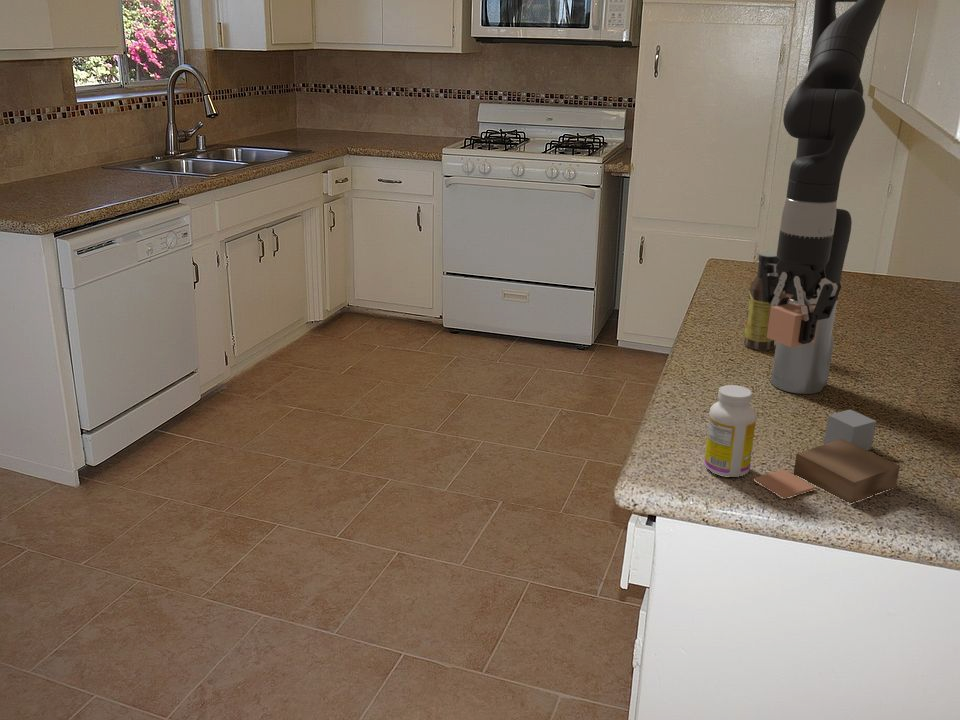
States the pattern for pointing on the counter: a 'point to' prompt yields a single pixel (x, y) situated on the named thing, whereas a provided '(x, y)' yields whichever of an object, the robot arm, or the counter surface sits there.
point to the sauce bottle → (759, 309)
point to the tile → (784, 483)
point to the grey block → (850, 428)
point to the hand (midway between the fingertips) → (790, 336)
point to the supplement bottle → (730, 432)
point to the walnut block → (846, 470)
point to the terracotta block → (786, 324)
